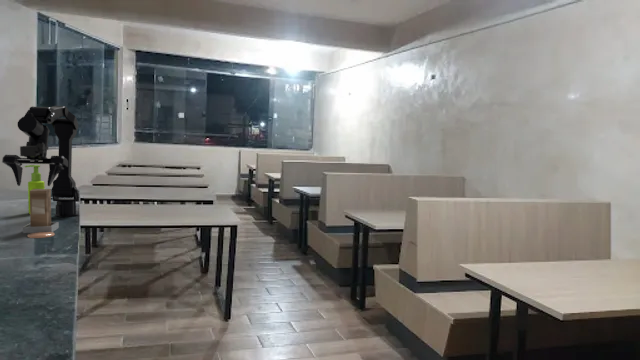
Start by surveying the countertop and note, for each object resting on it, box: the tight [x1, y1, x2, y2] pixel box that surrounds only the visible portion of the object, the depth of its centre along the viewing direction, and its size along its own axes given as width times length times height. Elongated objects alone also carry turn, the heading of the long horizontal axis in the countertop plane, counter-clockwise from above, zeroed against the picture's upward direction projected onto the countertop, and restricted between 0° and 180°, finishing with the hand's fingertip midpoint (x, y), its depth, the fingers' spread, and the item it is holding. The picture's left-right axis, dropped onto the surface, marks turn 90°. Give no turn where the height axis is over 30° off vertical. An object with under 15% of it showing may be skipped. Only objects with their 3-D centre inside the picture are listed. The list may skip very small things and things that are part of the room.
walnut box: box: [29, 188, 52, 227], centre depth 161 cm, size 5×5×14 cm
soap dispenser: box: [23, 164, 46, 215], centre depth 195 cm, size 6×7×20 cm
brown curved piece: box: [27, 231, 55, 239], centre depth 154 cm, size 8×8×1 cm
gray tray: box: [22, 221, 60, 234], centre depth 162 cm, size 9×9×2 cm
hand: (33, 185), depth 159 cm, fingers open, 9 cm apart
